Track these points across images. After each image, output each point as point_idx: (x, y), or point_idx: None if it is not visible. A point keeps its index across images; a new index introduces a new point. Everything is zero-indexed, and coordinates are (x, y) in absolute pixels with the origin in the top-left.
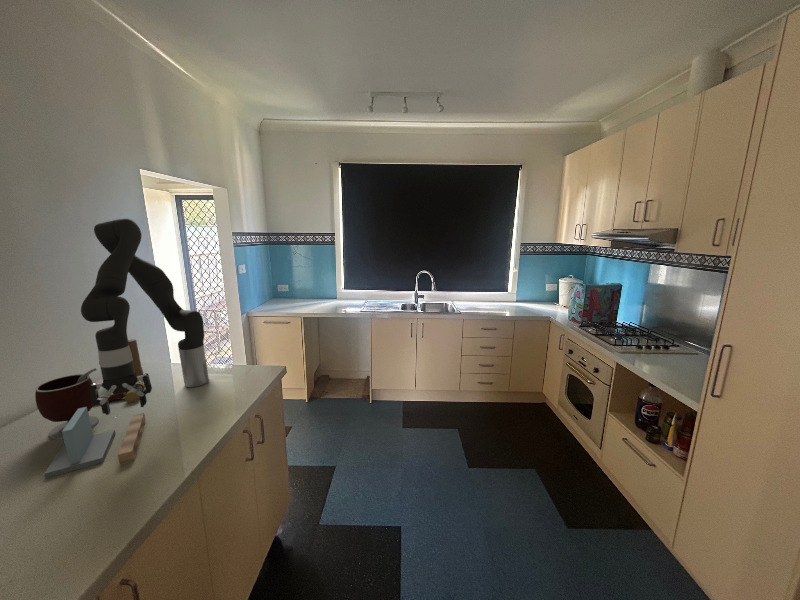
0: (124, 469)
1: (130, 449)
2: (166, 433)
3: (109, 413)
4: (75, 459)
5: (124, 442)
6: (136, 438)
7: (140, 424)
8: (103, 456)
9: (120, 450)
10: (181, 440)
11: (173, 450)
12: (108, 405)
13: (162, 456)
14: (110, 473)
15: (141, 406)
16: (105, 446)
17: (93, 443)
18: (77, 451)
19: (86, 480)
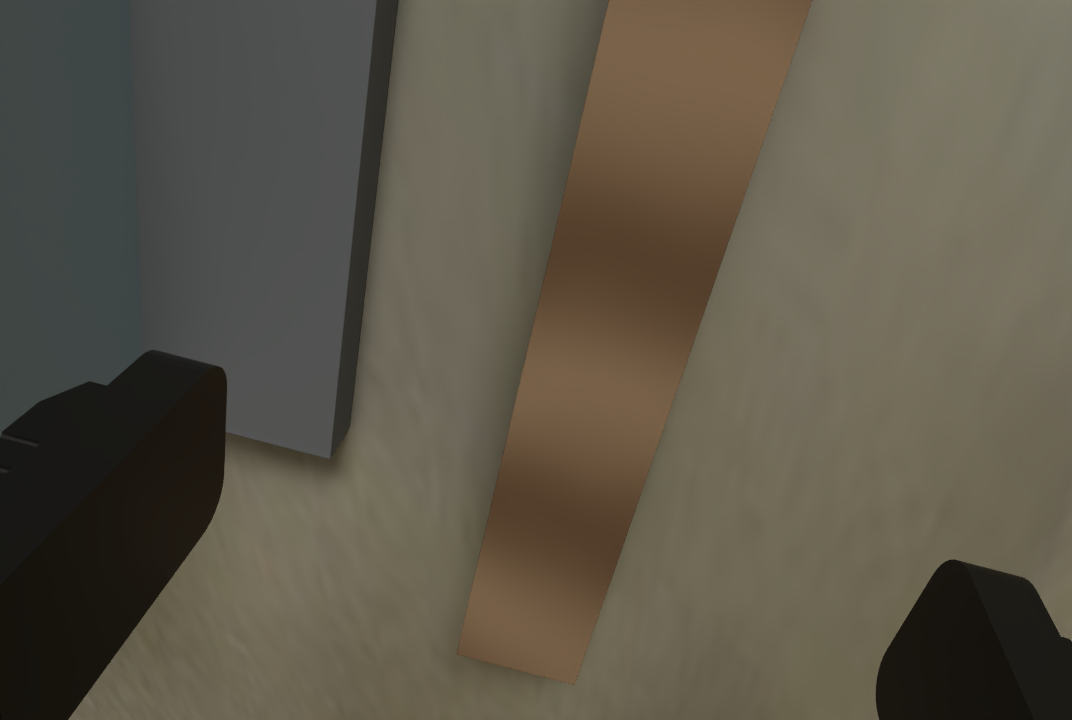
0: None
1: (566, 647)
2: (997, 341)
3: (221, 448)
4: None
5: (522, 470)
6: (652, 450)
7: (783, 80)
8: (338, 417)
9: (480, 595)
10: None
11: None
12: (92, 558)
13: (792, 710)
14: (417, 629)
15: (891, 709)
16: (332, 238)
17: (175, 13)
18: None
19: (265, 586)
